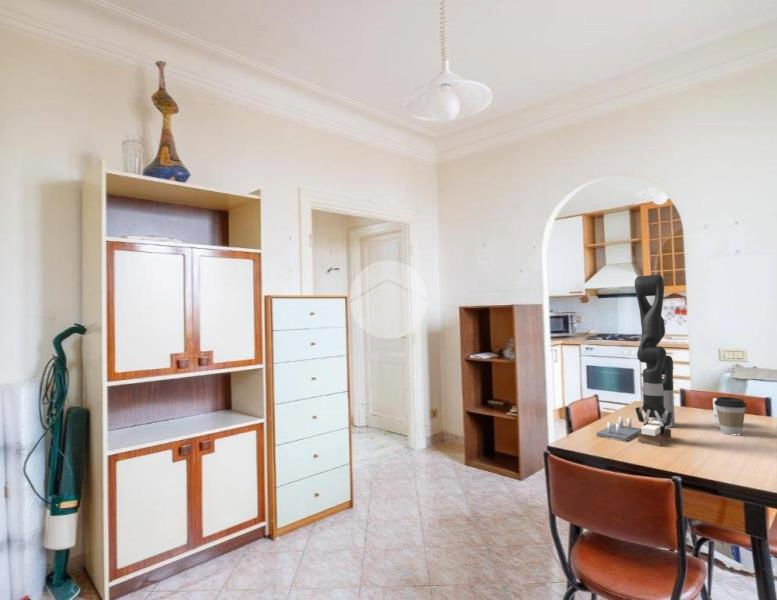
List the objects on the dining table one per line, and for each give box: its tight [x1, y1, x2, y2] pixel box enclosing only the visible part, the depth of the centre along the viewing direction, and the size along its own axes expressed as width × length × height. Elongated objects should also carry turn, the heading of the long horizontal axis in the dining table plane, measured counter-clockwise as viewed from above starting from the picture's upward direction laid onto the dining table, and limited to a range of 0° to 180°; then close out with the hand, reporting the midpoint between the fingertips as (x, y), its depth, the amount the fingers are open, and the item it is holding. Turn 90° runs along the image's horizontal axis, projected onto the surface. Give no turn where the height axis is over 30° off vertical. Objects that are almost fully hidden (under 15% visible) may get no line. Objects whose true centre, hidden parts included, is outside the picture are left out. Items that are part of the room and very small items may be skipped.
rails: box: [637, 428, 672, 447], centre depth 184 cm, size 15×8×4 cm, turn 132°
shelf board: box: [640, 420, 668, 436], centre depth 185 cm, size 16×5×2 cm, turn 132°
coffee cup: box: [714, 396, 747, 436], centre depth 193 cm, size 11×11×15 cm
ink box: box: [712, 397, 720, 425], centre depth 206 cm, size 9×5×12 cm, turn 179°
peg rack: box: [596, 416, 641, 442], centre depth 195 cm, size 20×12×6 cm, turn 132°
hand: (654, 433), depth 184 cm, fingers closed on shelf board, 5 cm apart
